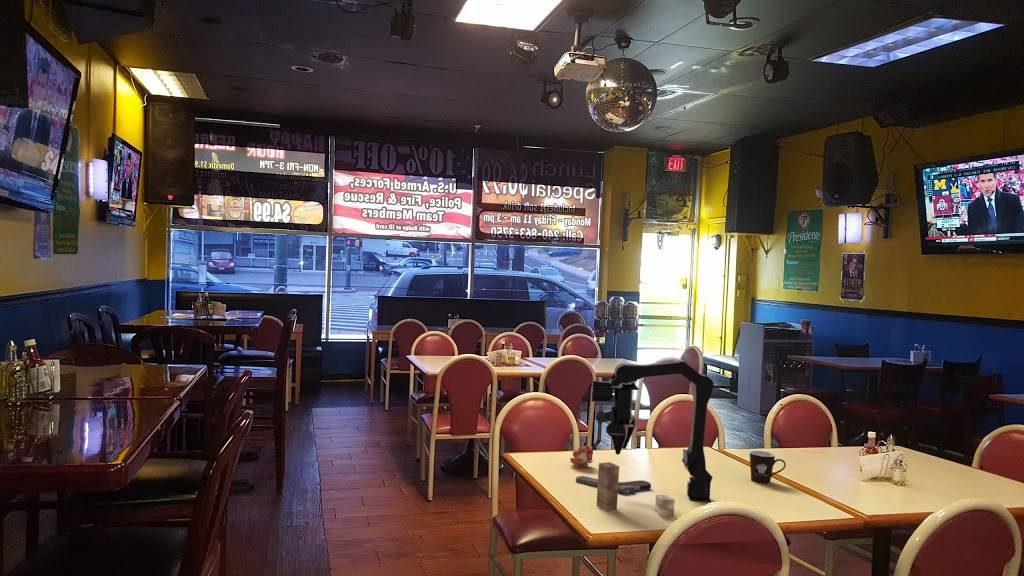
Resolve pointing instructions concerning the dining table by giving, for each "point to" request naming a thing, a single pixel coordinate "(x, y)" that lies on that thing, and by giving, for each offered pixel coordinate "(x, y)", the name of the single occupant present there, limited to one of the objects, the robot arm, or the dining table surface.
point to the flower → (582, 456)
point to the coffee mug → (762, 466)
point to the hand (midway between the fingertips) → (620, 451)
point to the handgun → (622, 486)
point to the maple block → (664, 505)
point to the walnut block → (607, 486)
